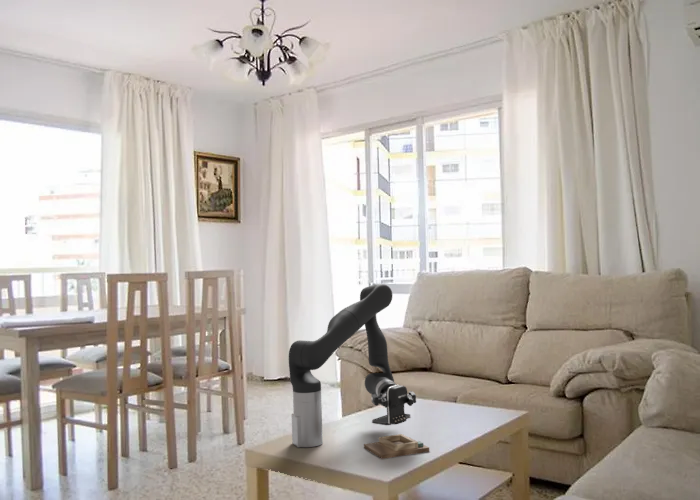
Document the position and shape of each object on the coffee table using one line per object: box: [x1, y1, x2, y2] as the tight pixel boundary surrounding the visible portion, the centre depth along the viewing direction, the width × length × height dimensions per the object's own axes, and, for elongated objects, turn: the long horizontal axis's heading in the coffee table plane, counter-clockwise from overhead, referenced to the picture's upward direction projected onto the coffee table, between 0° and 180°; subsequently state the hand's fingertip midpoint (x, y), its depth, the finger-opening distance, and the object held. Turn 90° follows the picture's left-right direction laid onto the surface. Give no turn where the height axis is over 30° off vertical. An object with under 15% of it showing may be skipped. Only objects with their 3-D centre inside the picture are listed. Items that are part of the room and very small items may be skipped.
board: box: [363, 433, 430, 460], centre depth 193 cm, size 16×13×3 cm
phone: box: [371, 413, 411, 426], centre depth 232 cm, size 8×1×15 cm
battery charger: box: [386, 384, 408, 425], centre depth 195 cm, size 7×4×11 cm, turn 136°
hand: (398, 403), depth 193 cm, fingers closed on battery charger, 7 cm apart
